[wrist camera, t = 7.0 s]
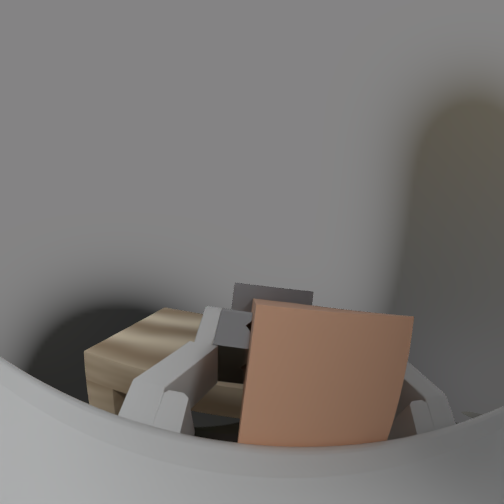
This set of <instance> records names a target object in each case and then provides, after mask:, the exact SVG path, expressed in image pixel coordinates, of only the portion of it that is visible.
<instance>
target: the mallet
mask: <svg viewBox="0 0 504 504" xmlns="http://www.w3.org/2000/svg"><path fill="white" fill-rule="evenodd" d="M312 300H313V292H311V291H301V290H292V289H284V288H274V287H266V286H258V285H250V284H242V283H235V285H234V293H233V302H232V310H238V311H245V312H252V313H253V316H252V325H251V334H250V342H249V350H248V357H247V364H246V372H245V379H244V384H243V394H242V404H241V413H240V423H239V433H238V443H244V444H254V445H267V446H289V447H318V446H340V445H352V444H362V443H371V442H378V441H385V440H387V439H388V436H389V433H390V430H391V427H392V423H393V420H394V417H395V413H396V410H397V406H398V402H399V398H400V394H401V390H402V385H403V381H404V376H405V371H406V366H407V361H408V355H409V349H410V343H411V336H412V328H413V321H414V317H413V316H402V315H390V314H379V313H371V312H361V311H352V310H344V309H336V308H327V307H320V306H312Z"/></svg>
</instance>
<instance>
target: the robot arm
mask: <svg viewBox="0 0 504 504" xmlns="http://www.w3.org/2000/svg"><path fill="white" fill-rule="evenodd" d="M252 316H253V313H252V312H245V311H238V310H232V309H225V308H217V307H211V306H207V307H206V308H205V310H204V313H203V316H202V319H201V322H200V325H199V328H198V331H197V334H196V338H195V341H194V342H192V341H189V342H188V343H186V344H185V345H183V346H182V347H180V348H179V349H178V350H176V351H175V352H173V353H172V354H170V355H169V356H167V357H166V358H164V359H163V360H161V361H160V362H158V363H157V364H156V365H154V366H153V367H151V368H150V369H148V370H147V371H145V372H144V373H142V374H141V375H139V376H138V377H136V378H135V379H133V381H132V383H131V386H130V388H129V390H128V393H127V395H126V397H125V400H124V402H123V405H122V407H121V409H120V412H119V414H118V415H116V414H113V413H110V412H107V411H105V410H102V409H99V408H97V407H94V406H92V405H90V404H87V403H85V402H82V401H80V400H78V399H76V398H73V397H71V396H69V395H67V394H65V393H63V392H61V391H59V390H57V389H55V388H53V387H51V386H49V385H47V384H45V383H43V382H41V381H40V380H38V379H36V378H34V377H32V376H31V375H29V374H27V373H26V372H24V371H22V370H21V369H19V368H17V367H16V366H14V365H13V364H11V363H9V362H8V361H7V360H5V359H3V358H2V357H1V356H0V504H504V406H503V407H500V408H498V409H496V410H493V411H491V412H489V413H486V414H483V415H481V416H478V417H476V418H473V419H470V420H467V421H464V422H461V423H458V424H456V423H455V420H454V417H453V414H452V411H451V409H450V406H449V403H448V400H447V397H446V395H445V394H444V393H443V392H442V391H441V390H440V389H439V388H437V387H436V386H435V385H434V384H433V383H432V382H430V381H429V380H428V379H427V378H426V377H425V376H424V375H423V374H421V373H420V372H419V371H418V370H417V369H416V368H415V367H413V366H412V365H411V364H410V363H409V362H408V361H407V366H406V371H405V376H404V381H403V385H402V390H401V394H400V398H399V402H398V406H397V410H396V413H395V417H394V420H393V423H392V427H391V430H390V433H389V436H388V439H387V440H385V441H378V442H371V443H362V444H352V445H340V446H318V447H289V446H267V445H254V444H244V443H235V442H227V441H220V440H214V439H208V438H202V437H197V436H194V435H195V429H194V424H193V419H192V414H191V408H192V407H193V406H194V405H195V404H196V403H197V402H198V401H199V400H200V399H202V398H203V397H204V396H205V395H206V394H207V393H208V392H209V391H210V390H211V389H212V388H213V387H214V386H215V385H216V384H217V381H221V382H229V383H238V384H244V379H245V372H246V364H247V357H248V350H249V342H250V334H251V325H252Z"/></svg>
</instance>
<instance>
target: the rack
mask: <svg viewBox="0 0 504 504" xmlns="http://www.w3.org/2000/svg"><path fill="white" fill-rule="evenodd" d="M202 316H203V314H199V313H192V312H187V311H181V310H175V309H170V308H163V309H161V310H160V311H158V312H156V313H154V314H152V315H150V316H149V317H147V318H145V319H143V320H141V321H139V322H137V323H136V324H134V325H132V326H130V327H128V328H126V329H125V330H123V331H121V332H119V333H117V334H115V335H113V336H111V337H110V338H108V339H106V340H104V341H102V342H100V343H98V344H96V345H95V346H93V347H91V348H89V349H87V350H85V351H84V358H85V371H86V381H87V390H88V398H89V404H90V405H92V406H94V407H97V408H99V409H102V410H105V411H107V412H110V413H113V414H116V415H118V414H119V412H120V409H121V407H122V405H123V402H124V400H125V397H126V395H127V393H128V390H129V388H130V386H131V383H132V381H133V379H135V378H136V377H138V376H139V375H141V374H142V373H144V372H145V371H147V370H148V369H150V368H151V367H153V366H154V365H156V364H157V363H158V362H160V361H161V360H163V359H164V358H166V357H167V356H169V355H170V354H172V353H173V352H175V351H176V350H178V349H179V348H180V347H182V346H183V345H185V344H186V343H188V342H189V341H192V342H194V341H195V338H196V334H197V331H198V328H199V325H200V322H201V319H202ZM242 394H243V384H238V383H229V382H221V381H217V384H216V385H215V386H214V387H213V388H212V389H211V390H210V391H209V392H208V393H207V394H206V395H205V396H204V397H203V398H202V399H200V400H199V401H198V402H197V403H196V404H195V405H194V406H193V407H192V408H191V411H196V412H202V413H207V414H213V415H219V416H226V417H233V418H240V413H241V404H242Z"/></svg>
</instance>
